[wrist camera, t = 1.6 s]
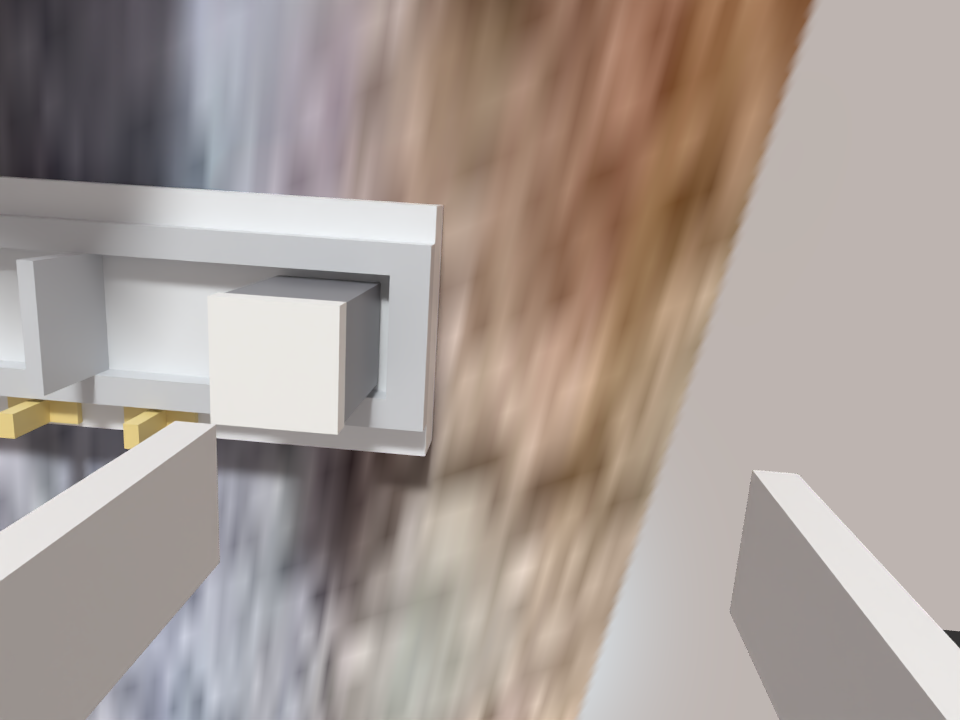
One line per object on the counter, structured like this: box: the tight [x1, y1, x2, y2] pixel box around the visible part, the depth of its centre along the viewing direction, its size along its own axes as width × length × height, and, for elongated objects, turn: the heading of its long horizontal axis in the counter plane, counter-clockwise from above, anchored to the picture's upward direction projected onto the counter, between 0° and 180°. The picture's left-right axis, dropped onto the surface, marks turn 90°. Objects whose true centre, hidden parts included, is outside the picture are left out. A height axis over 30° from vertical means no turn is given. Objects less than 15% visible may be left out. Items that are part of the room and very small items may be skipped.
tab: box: [207, 275, 381, 435], centre depth 25 cm, size 4×4×6 cm
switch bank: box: [0, 176, 444, 456], centre depth 28 cm, size 27×10×6 cm, turn 86°
